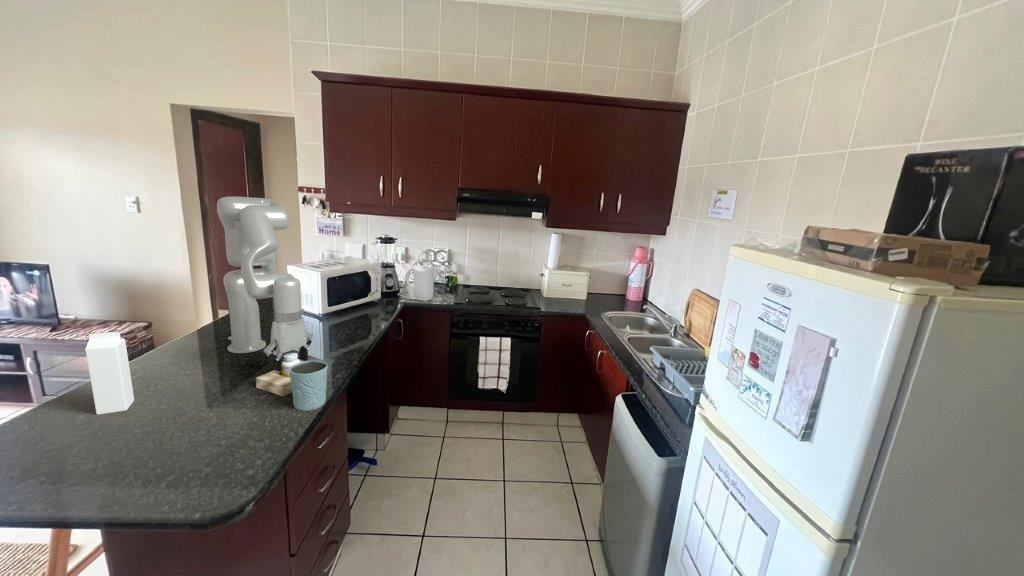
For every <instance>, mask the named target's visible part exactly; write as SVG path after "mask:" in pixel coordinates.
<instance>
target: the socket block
mask: <svg viewBox="0 0 1024 576" xmlns="http://www.w3.org/2000/svg"><path fill="white" fill-rule="evenodd" d="M300 362H304V360H300ZM255 383H256V384H255V387H256V389H260V390H262V391H265V392H269V393H272V394H274V395H278V396H280V397H286V396H287V395H289V394H293V393H292V387H291V378H288V377H284V376H282V371H281V372H279V371H276V370H274V369H273V370H271V371H269V372H267V373H264V374H261V375H259V376H257V377H255Z"/></svg>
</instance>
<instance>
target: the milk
mask: <svg viewBox="0 0 1024 576" xmlns="http://www.w3.org/2000/svg"><path fill="white" fill-rule="evenodd" d="M84 350H85V355H86V361H87V362H86V363H87V367H88V372H89V373H88V374H89V380H90V385H91V390H92V396H93V403H94V406H95V413H96V415H103V414H111V413H117V412H124V411H125V412H126V411H127V410H128V409H129V408H130V406H131V405H132V404H133V403H134V401H135V394H134V389H133V388H134V387H133V382H132V376H131V375H132V374H131V369H130V363H129V357H128V351H127V343H126V339H125V338H124V337H121V334H120V332H119V331H112V332H100V333H89V334H88V341H87V344H86V347H85V349H84Z"/></svg>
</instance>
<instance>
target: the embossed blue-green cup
mask: <svg viewBox="0 0 1024 576" xmlns="http://www.w3.org/2000/svg"><path fill="white" fill-rule="evenodd" d="M303 361H304V360H303ZM328 366H329V365H328V363H327V362H325V361H323V360H317V359H315V360H307V361H304V362H300V363H297V364H295V365H293V366H291V367H290V368H289V373H290V378H291V387H292V393H291V394H292V399H293V401H292V402H293V407H294V408H295V409H296V410H297V409H298V410H297V411H301V410H302V412H305V411H306V412H307V411H313V409H314V410H316V409H319V408H321V407H323V406H322V405H325V404H326V401H327V400H326V398H327V394H326V393H327V385H328V384H327V380H328V379H327V377H328Z"/></svg>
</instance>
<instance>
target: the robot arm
mask: <svg viewBox="0 0 1024 576" xmlns="http://www.w3.org/2000/svg"><path fill="white" fill-rule="evenodd" d="M216 210H217V211H216V212H217V214H218V215H217V216H218V217H219V220H220V223H221V224H222V227H223V229H224V237H225V253H226V260H227V262H228V264H229V265H230V266H232V267H237V268H240V269H237V270H231V271H228V272H227V273H225V275H224V276H223V280H222V281H223V285H224V286H223V287H224V290H225V292H226V293H225V294H226V298H227V302H228V311H229V321H230V322H229V323H230V333H231V336H228V337H227V339H228V340H229V341H230V342H231V343H230V344H229V345H228V346H227V352H230V353H234V354H249V353H253V352H257V351H260V350H263V353H265V354H264V355H266V357H268V358H270V360H272V368H273V370H276V371H279V372H281V371H282V362H283V360H282V359H281V357H282V356H283V355H284V354H286V353H289V352H291V351H294V350H296V349H298V351H299V352H298V353H299V355H298V357H299V360H300V361H309V351H308V350H309V349H310V346H311V344H312V341H313V338H314V333H310V332H307V328H306V323H305V322H306V321H305V320H304V317H303V313H305V310H304V308H302V291H301V290H302V289H301V287H302V286H301V281H300V279H298V278H297V277H296V278H295V276H293V275H292V274H291V273H287V272H285V273H283V272H281V273H278V255H277V250H278V249H279V248H280V243H279V240H278V238H277V234H276V231H275V230H277V231H278V230H286V229H288V228H289V226H290V220H291V219H290V216H289V212H287V210H286V208H285V207H284V206H283V205H281V204H280V203H279V202H277V201H275V200H273V199H271V198H264V197H250V196H249V197H248V196H224V197H220V198H219V199H218V200H217V202H216ZM258 266H259V267H261V268H254V267H258ZM269 298H273V304H274V320H275V321H272V324H271V328H270V329H271V330H270V343H269V344H268V345H267V343H266V341H265V340H262V333H261V320H260V307H259V303H258V301H257V300H259V299H269ZM256 299H257V300H256ZM272 351H273V352H272Z"/></svg>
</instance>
